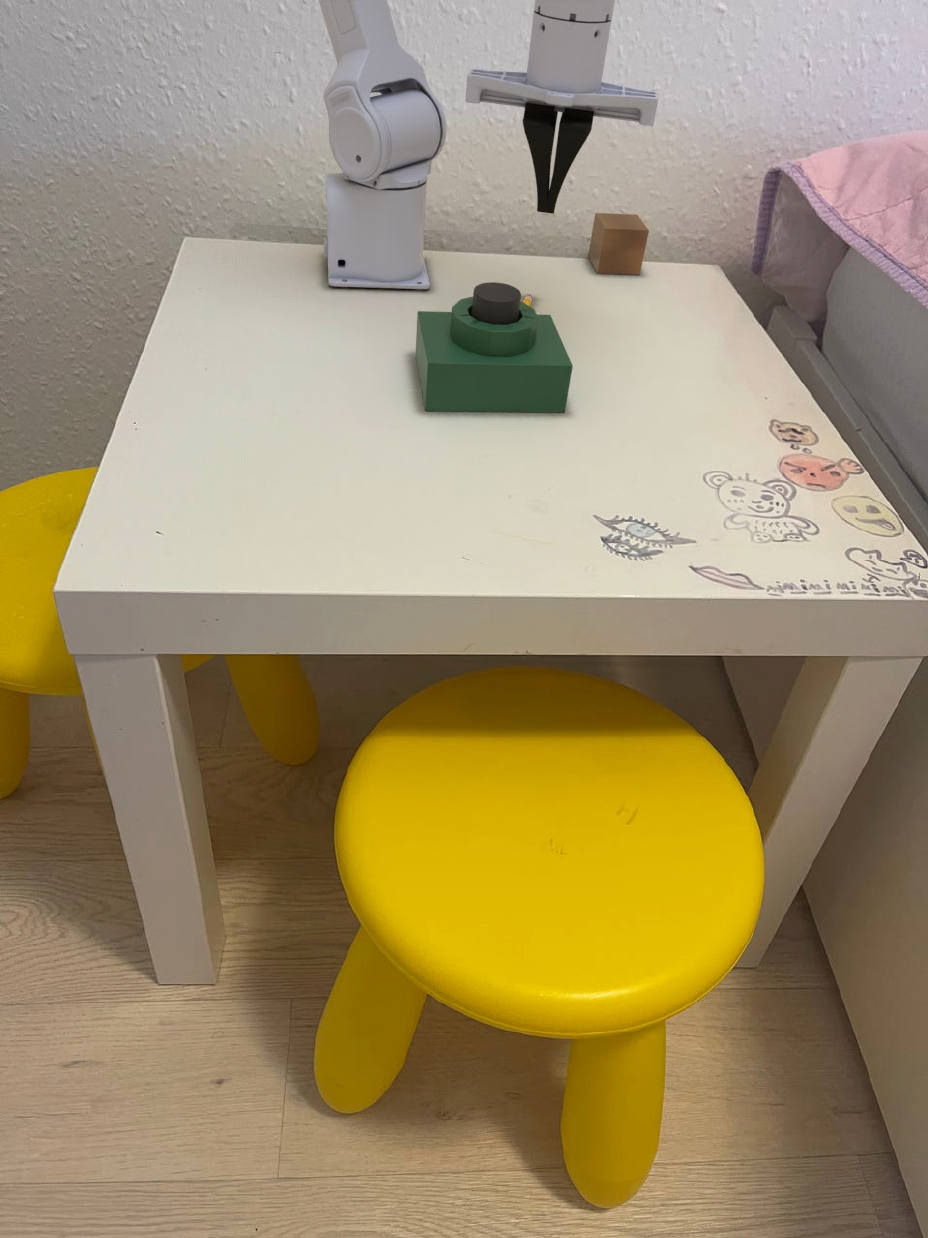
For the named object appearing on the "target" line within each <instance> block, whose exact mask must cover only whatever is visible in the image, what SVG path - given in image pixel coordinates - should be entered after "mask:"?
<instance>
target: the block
mask: <svg viewBox="0 0 928 1238" xmlns="http://www.w3.org/2000/svg"><path fill="white" fill-rule="evenodd" d="M649 234H650V230H649V229H648V227H647V226H646V224H645V223H644V222H643V220H642V219H641V217H640V216H639V214H630V213H629V214H627V213H607V212H606V213H605V212H596V213H594V219H593V225H592V231H591V236H590V241H589V242H590V243H589V249H588V253H587V258H588V260H589V261H590V263H591V265H592V267H593V268H594V270H595V272H596V273H597V274H598V275H599V274H601V275H630V276H631V275H632V276H633V275H634V276H641V270H642V265H643V261H644V256H645V252H646V247H647V241H648V237H649Z"/></svg>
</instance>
